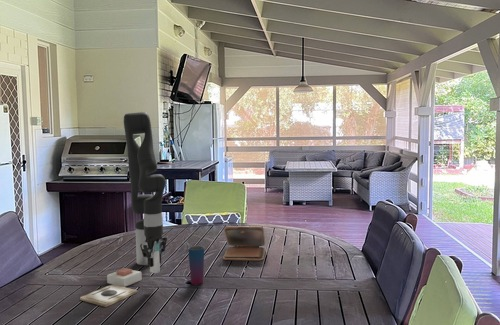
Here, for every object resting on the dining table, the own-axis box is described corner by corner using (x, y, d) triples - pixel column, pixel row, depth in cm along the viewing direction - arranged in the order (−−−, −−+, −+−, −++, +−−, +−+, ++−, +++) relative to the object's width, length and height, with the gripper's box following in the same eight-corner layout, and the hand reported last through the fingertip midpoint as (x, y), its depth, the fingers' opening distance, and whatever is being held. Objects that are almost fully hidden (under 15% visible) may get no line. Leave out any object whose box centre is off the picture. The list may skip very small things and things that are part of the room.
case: (266, 249, 242) (265, 219, 241) (263, 261, 222) (262, 229, 220) (227, 249, 244) (227, 219, 243) (221, 261, 224) (220, 229, 222)
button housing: (124, 275, 203) (124, 268, 202) (141, 279, 198) (141, 271, 197) (107, 283, 194) (107, 274, 194) (124, 287, 189) (124, 278, 189)
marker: (154, 268, 190) (153, 240, 189) (162, 270, 188) (161, 242, 186) (147, 271, 186) (146, 243, 185) (155, 273, 184) (154, 244, 183)
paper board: (112, 286, 190) (112, 283, 190) (137, 292, 183) (136, 289, 183) (80, 299, 176) (80, 296, 176) (105, 307, 169) (105, 303, 169)
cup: (190, 286, 190) (189, 250, 188) (187, 280, 196) (187, 246, 195) (206, 284, 191) (205, 249, 190) (203, 278, 198) (202, 245, 196)
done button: (124, 274, 199) (124, 267, 198) (131, 275, 196) (131, 269, 196) (116, 277, 195) (116, 270, 195) (124, 278, 193) (124, 272, 192)
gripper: (158, 219, 193) (159, 258, 195) (133, 226, 181) (135, 268, 182) (171, 221, 189) (173, 261, 191) (148, 228, 177) (149, 271, 179)
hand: (154, 264), depth 187 cm, fingers closed on marker, 4 cm apart
